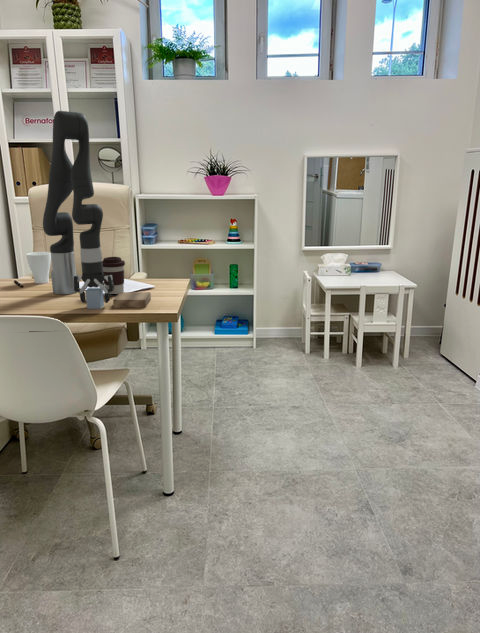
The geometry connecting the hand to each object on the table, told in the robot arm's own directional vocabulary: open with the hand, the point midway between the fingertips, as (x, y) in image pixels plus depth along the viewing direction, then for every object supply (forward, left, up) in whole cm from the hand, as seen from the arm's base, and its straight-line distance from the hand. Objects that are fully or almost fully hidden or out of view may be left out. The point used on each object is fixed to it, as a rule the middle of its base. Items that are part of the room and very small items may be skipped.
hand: (95, 302), depth 181 cm
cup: (-37, +44, -2) cm, 58 cm away
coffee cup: (+2, +22, -2) cm, 22 cm away
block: (0, 0, -2) cm, 2 cm away
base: (+13, +5, -2) cm, 14 cm away
